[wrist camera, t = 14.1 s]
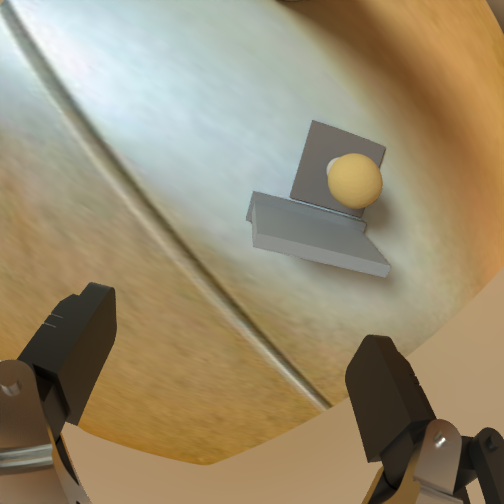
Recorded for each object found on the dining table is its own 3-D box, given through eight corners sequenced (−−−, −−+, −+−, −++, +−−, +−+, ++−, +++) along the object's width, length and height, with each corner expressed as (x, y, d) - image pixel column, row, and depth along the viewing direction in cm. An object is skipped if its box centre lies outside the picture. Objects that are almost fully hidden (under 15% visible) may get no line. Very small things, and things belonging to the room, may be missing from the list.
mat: (312, 120, 36) (312, 120, 36) (384, 146, 38) (385, 146, 37) (289, 196, 41) (289, 197, 40) (360, 216, 42) (360, 217, 42)
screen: (253, 190, 40) (255, 220, 30) (364, 221, 42) (399, 257, 32) (246, 217, 42) (245, 256, 31) (355, 245, 44) (385, 287, 33)
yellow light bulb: (367, 177, 39) (399, 196, 30) (331, 201, 41) (353, 226, 32) (345, 138, 37) (374, 146, 28) (306, 163, 38) (325, 178, 29)
